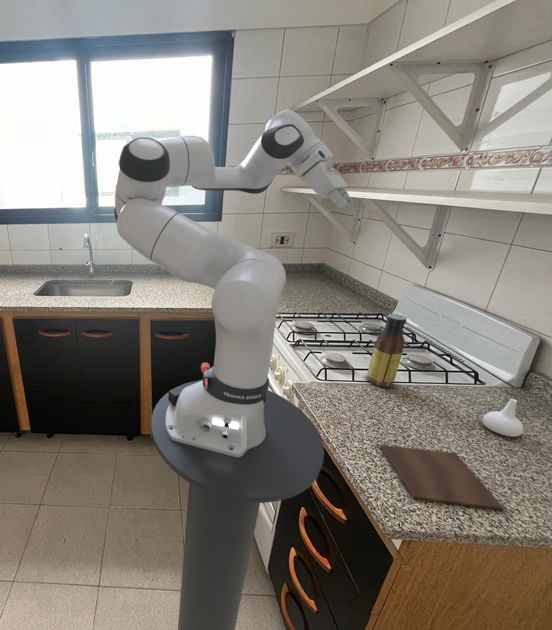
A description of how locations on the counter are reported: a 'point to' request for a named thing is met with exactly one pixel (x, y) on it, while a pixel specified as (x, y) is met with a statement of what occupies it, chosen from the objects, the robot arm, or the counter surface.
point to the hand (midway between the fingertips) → (346, 205)
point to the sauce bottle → (387, 352)
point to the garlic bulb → (504, 421)
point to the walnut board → (439, 477)
